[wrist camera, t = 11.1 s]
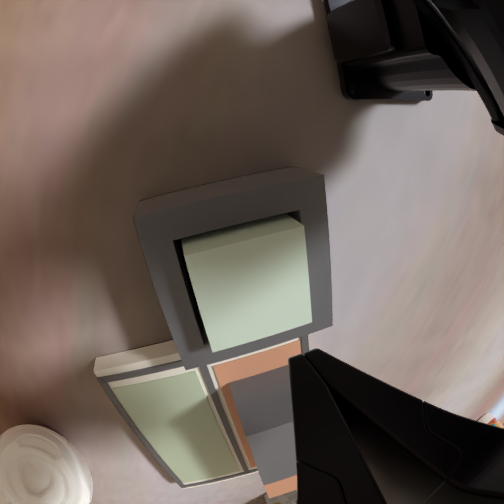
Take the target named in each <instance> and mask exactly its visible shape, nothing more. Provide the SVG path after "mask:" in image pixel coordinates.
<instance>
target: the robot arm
mask: <svg viewBox="0 0 504 504" xmlns="http://www.w3.org/2000/svg"><path fill="white" fill-rule="evenodd" d="M324 3H325V7H326V12H327V16H326V19H327V23H328V28H329V33H330V38H331V43H332V48H333V53H334V58H335V60H336V61H337V66H338V72H339V78H340V84H341V91H342V94H343V95H344V97H345V98H347V99H349V100H364V99H394V100H422V101H429V100H431V99H432V90H472V91H477V92H478V94H479V95H480V97H481V99H482V101H483V103H484V105H485V106H486V108H487V110H488V112H489V114H490V116H491V118H492V119H491V122H492V124H493V126H494V128H495V130H496V131H497V132H499V133H500V134H502V135H504V0H324ZM350 87H352V88H353V89H354V93H353V94H352V93H351V92H350ZM288 366H289V377H290V388H291V400H292V413H293V425H294V439H295V453H296V470H297V504H504V428H500V427H497V426H493V425H489V424H486V423H482V422H478V421H475V420H471V419H468V418H465V417H462V416H459V415H456V414H453V413H451V412H448V411H446V410H443V409H441V408H438V407H436V406H434V405H432V404H429V403H427V402H425V401H424V402H423V401H422V400H421V399H418V398H416V397H414V396H412V395H410V394H408V393H406V392H403V391H401V390H399V389H397V388H395V387H393V386H391V385H389V384H387V383H385V382H383V381H381V380H379V379H377V378H375V377H373V376H371V375H369V374H367V373H365V372H363V371H361V370H359V369H357V368H355V367H353V366H351V365H349V364H347V363H345V362H343V361H341V360H339V359H337V358H335V357H333V356H331V355H329V354H328V353H326V352H324V351H322V350H320V349H313V350H310V351H307V352H305V353H304V354H298V355H295V356H292V357H290V358H289V359H288Z"/></svg>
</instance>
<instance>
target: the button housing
mask: <svg viewBox="0 0 504 504" xmlns="http://www.w3.org/2000/svg"><path fill="white" fill-rule="evenodd" d="M283 213H286V214H288V215H289V216H290V217H292V218H293V219H295V220H296V221H298V222H299V223H301V224H302V225H304V230H305V240H306V251H307V262H308V273H309V285H310V299H311V313H312V322H311V323H308V324H305V325H302V326H299V327H296V328H293V329H290V330H287V331H284V332H281V333H278V334H275V335H272V336H268V337H265V338H262V339H258V340H255V341H252V342H248V343H245V344H242V345H238V346H235V347H231V348H227V349H224V350H220V351H217V352H212V349H211V346H210V343H209V340H208V337H207V333H206V330H205V327H204V324H203V320H202V317H201V314H200V310H196V308H195V305H194V301H193V298H192V295H191V291H190V288H189V284H188V281H187V277H186V274H185V270H184V267H183V263H182V260H181V256H180V252H179V248H178V245H177V241H176V240H177V239H181V238H185V237H189V236H193V235H197V234H201V233H205V232H209V231H213V230H217V229H221V228H225V227H229V226H233V225H237V224H241V223H245V222H250V221H254V220H258V219H262V218H266V217H271V216H275V215H279V214H283ZM133 221H134V224H135V228H136V231H137V235H138V238H139V241H140V245H141V248H142V251H143V254H144V258H145V261H146V264H147V267H148V270H149V273H150V276H151V279H152V282H153V285H154V288H155V291H156V294H157V297H158V300H159V303H160V305H161V308H162V311H163V314H164V317H165V319H166V322H167V325H168V327H169V330H170V333H171V335H172V338H173V340H174V343H175V345H176V348H177V350H178V353H179V355H180V358H181V360H182V363H183V365H184V368H185V370H189V369H193V368H197V367H201V366H205V365H209V364H213V363H216V362H220V361H224V360H227V359H231V358H234V357H238V356H241V355H245V354H248V353H252V352H255V351H258V350H261V349H265V348H268V347H271V346H274V345H277V344H281V343H284V342H287V341H290V340H293V339H296V338H299V337H302V336H305V335H308V334H310V333H313V332H316V331H319V330H322V329H325V328H327V327H330V326H333V325H332V286H331V263H330V245H329V230H328V217H327V204H326V193H325V183H324V175H322V174H319V173H316V172H312V171H309V170H305V169H302V168H298V167H295V166H294V167H288V168H283V169H277V170H272V171H267V172H262V173H256V174H251V175H247V176H242V177H237V178H232V179H228V180H223V181H219V182H214V183H210V184H205V185H201V186H197V187H193V188H188V189H184V190H180V191H176V192H172V193H168V194H164V195H160V196H157V197H153V198H149V199H145V200H142V201H139V203H138V206H137V209H136V211H135V214H134V216H133Z"/></svg>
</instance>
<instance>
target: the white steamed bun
mask: <svg viewBox="0 0 504 504" xmlns="http://www.w3.org/2000/svg"><path fill="white" fill-rule="evenodd" d="M0 492H1V493H2V495H3V496H4V497H5V499H6V500H7V501H8V502H9V503H10V504H90V502H91V499H92V494H93V482H92V477H91V474H90V471H89V468H88V466H87V464H86V462H85V461H84V459H83V457H82V456H81V454H80V453H79V452H78V450H77V449H76V448H75V447H74V446H73V445H72V444H71V443H70V442H69V441H68V440H67V439H65V438H64V437H63V436H61V435H60V434H58V433H56V432H55V431H53V430H51V429H48V428H46V427H42V426H38V425H31V424H24V425H17V426H14V427H11V428H9V429H8V430H6V431H5V432H4V433H2V434H1V435H0Z"/></svg>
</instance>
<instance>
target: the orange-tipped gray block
mask: <svg viewBox="0 0 504 504" xmlns="http://www.w3.org/2000/svg"><path fill="white" fill-rule="evenodd" d="M228 384H229V387H230V390H231V393H232V396H233V399H234V403H235V406H236V409H237V412H238V415H239V418H240V421H241V424H242V427H243V430H244V433H245V436H246V439H247V441H248V444H249V447H250V450H251V452H252V455H253V458H254V461H255V463H256V466H257V469H258V471H259V474H260V477H261V479H262V482H263V484H264V487H265V489H266V492H267V495H268V497H269V498H272V497H276V496H279V495H282V494H285V493H288V492H291V491H294V490H297V470H296V453H295V439H294V425H293V413H292V400H291V388H290V377H289V366H288V365H285V366H282V367H279V368H276V369H273V370H270V371H267V372H263V373H260V374H257V375H254V376H250V377H247V378H243V379H240V380H236V381H233V382H229V383H228Z"/></svg>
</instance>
